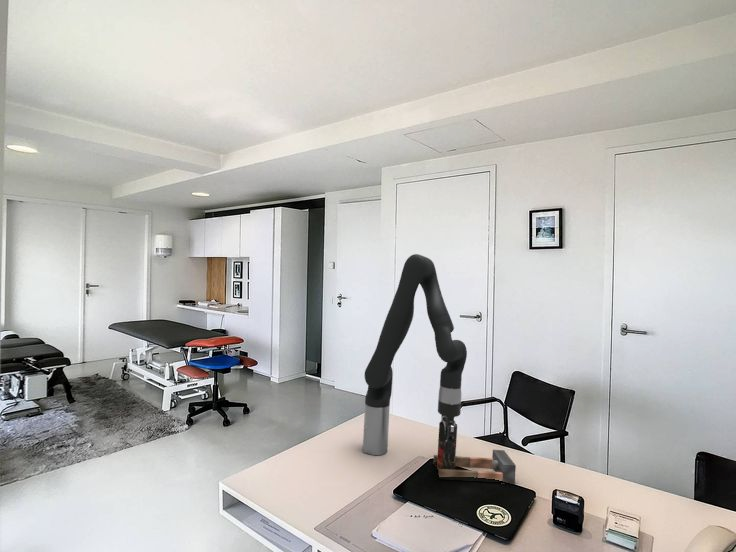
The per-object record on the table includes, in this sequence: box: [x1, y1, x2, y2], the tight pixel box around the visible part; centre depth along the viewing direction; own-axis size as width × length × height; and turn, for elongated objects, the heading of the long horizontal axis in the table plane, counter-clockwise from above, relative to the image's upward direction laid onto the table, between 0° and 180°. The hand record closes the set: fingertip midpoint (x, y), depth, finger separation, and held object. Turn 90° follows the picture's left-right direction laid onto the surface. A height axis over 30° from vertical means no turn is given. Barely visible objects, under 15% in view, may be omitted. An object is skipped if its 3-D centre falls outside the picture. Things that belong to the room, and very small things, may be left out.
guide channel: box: [433, 449, 517, 485], centre depth 133 cm, size 24×11×6 cm, turn 89°
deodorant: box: [436, 420, 458, 471], centre depth 133 cm, size 6×6×15 cm
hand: (446, 449), depth 133 cm, fingers closed on deodorant, 6 cm apart
